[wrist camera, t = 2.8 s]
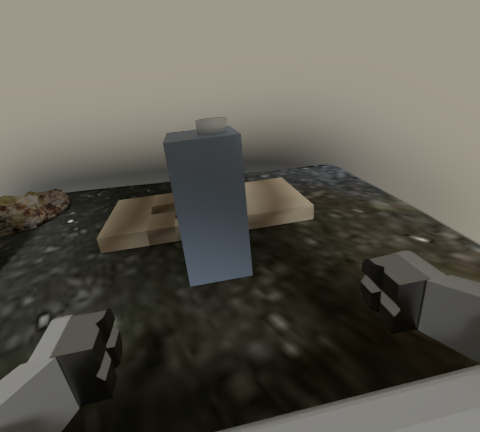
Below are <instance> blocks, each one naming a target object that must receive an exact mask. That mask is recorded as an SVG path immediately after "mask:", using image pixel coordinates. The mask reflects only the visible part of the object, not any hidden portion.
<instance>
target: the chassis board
mask: <svg viewBox="0 0 480 432" xmlns="http://www.w3.org/2000/svg"><path fill="white" fill-rule="evenodd" d="M245 191H246V203H247V214H248V226H249V230H250V229H256V228H262V227H268V226H274V225H281V224H287V223H293V222H299V221H305V220H312V219H313V216H314V205H313V204H312V203H311V202H310V201H308V200H307V199H306V198H305V197H304V196H303V195H301V194H300V193H299V192H298V191H297V190H296V189H294V188H293V187H292V186H291V185H290V184H289V183H287V182H286V181H285V180H284V179H283V178H275V179H268V180H261V181H253V182H246V183H245ZM176 216H177V213H176V208H175V203H174V198H173V193H168V194H161V195H153V196H146V197H139V198H132V199H125V200H119V201H118V203H117V204H116V206H115V208H114V209H113V211H112V213H111V215H110V216H109V218H108V220H107V221H106V223H105V225H104V227H103V228H102V230H101V232H100V234H99V235H98V237H97V242H98V245H99V248H100V251H101V253H107V252H113V251H119V250H126V249H132V248H138V247H144V246H150V245H157V244H163V243H169V242H175V241H181V234H180V229H179V224H178V219H177V217H176Z"/></svg>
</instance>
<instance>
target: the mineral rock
mask: <svg viewBox="0 0 480 432" xmlns="http://www.w3.org/2000/svg"><path fill="white" fill-rule="evenodd" d="M69 204H70V201H69V199H68V195H66V193H63V192H62V190H58V189H53V190H49V191H46V192H39V193H35V192H28V193H26V194H25V195H22V196H20V197H15V196H2V197H0V237H1V236H5V235H8V234H9V235H11V234H14V233H17V232H21V231H26V230H31V229H34V228H37V226H39V225H41V224H42V223H44V222H47V221H50V220H51V219H53V218H54V217H55V216H57V215H58V214H61V213H62V212H64V211H66V210H67V208H68V206H69Z"/></svg>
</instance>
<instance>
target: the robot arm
mask: <svg viewBox="0 0 480 432" xmlns="http://www.w3.org/2000/svg"><path fill="white" fill-rule="evenodd" d="M362 271H363V272H364V274H365V277H364V278H363V279H362V281H361V293H362V297H363V299H364V301H365V303H366V304H367V306H368V307H369V308H370V309H371V310H374V311H376V312H378V313H379V320H380V321H381V322H382V323H383V324H384V325H385V326H386V327H387V329H388V330H389V331H390V332H391V333H392V334H394V333H399V332H404V331H409V330H414V329H418V331H420V332H422V333H424V334H426V335H428V336H430V337H431V338H433V339H435V340H437V341H439V342H441V343H442V344H444V345H446V346H448V347H450V348H452V349H453V350H455V351H457V352H459V353H461V354H463V355H465V356H466V357H468V358H470V359H472V360H474V361H476V362H477V363H479V364H480V283H478V282H474V281H471V280H467V279H464V278H460V277H457V276H453V275H450V276H446V275H445V274H444V273H442V272H441V271H439V270H438V269H436V268H435V267H433V266H432V265H430V264H429V263H427V262H426V261H424V260H423V259H422V258H420V257H419V256H417V255H416V254H414V253H413V252H411V251H407V250H406V251H401V252H397V253H393V254H390V255H385V256H380V257H375V258H370V259H365V260H364V262H363V264H362ZM114 321H115V317H114V315H113V312H112V310H110V309H109V308H108V309H102V310H96V311H90V312H84V313H78V314H74V315H67V316H62V317H57V318H55V319H53V320H52V321H51V323H50V324H49V326H48V328H47V330H46V331H45V333H44V335H43V336H42V338H41V340H40V342H39V343H38V345H37V347H36V349H35V350H34V352H33V354H32V355H31V357H30V359H29V361H28V362H27V363H25V364H21V365H19V366H18V367H17V368H16V369H14V370H13V371H12V372H11V373H9V374H8V375H7V376H5V377H4V378H3V379H2V380H0V432H62V430H63V429H64V428H65V427H66V425H67V424H68V423H69V421H70V420H71V419H72V418H73V416H74V415H75V414H76V412H77V411H78V410H79V406H83V405H87V404H91V403H95V402H99V401H103V400H107V399H110V398H112V397H113V393H114V388H115V384H116V380H117V374H116V371H115V368H116V367H117V366H118V365H119V364H120V362H121V358H122V339H121V335H120V332H119V330H118V329H116V328H115V327H113V324H114ZM216 432H480V365H476V366H472V367H468V368H464V369H460V370H456V371H452V372H448V373H444V374H440V375H436V376H433V377H429V378H425V379H421V380H417V381H413V382H409V383H405V384H401V385H397V386H393V387H389V388H385V389H381V390H377V391H374V392H370V393H366V394H362V395H358V396H354V397H350V398H346V399H342V400H338V401H334V402H330V403H326V404H322V405H318V406H314V407H311V408H307V409H303V410H299V411H295V412H291V413H287V414H283V415H279V416H275V417H271V418H267V419H263V420H259V421H255V422H251V423H248V424H244V425H240V426H236V427H232V428H228V429H224V430H220V431H216Z"/></svg>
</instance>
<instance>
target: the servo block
mask: <svg viewBox="0 0 480 432" xmlns="http://www.w3.org/2000/svg"><path fill="white" fill-rule="evenodd" d="M195 122H196V129H197V130H191V131H181V132H172V133H167V134H166V137H165V139H164V142H163V145H164V150H165V156H166V161H167V166H168V172H169V177H170V182H171V187H172V192H173V198H174V203H175V208H176V213H177V219H178V224H179V229H180V234H181V240H182V245H183V250H184V255H185V261H186V266H187V271H188V276H189V282H190V287H191V286H197V285H202V284H208V283H213V282H219V281H224V280H230V279H235V278H240V277H246V276H251V275H253V273H252V262H251V250H250V238H249V226H248V214H247V203H246V191H245V179H244V168H243V157H242V144H241V134H240V133H238V132H237V131H236V130H234V129H233V128H232V127H230V126H227V118H226V117H216V118H206V119H200V120H196V121H195Z"/></svg>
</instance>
